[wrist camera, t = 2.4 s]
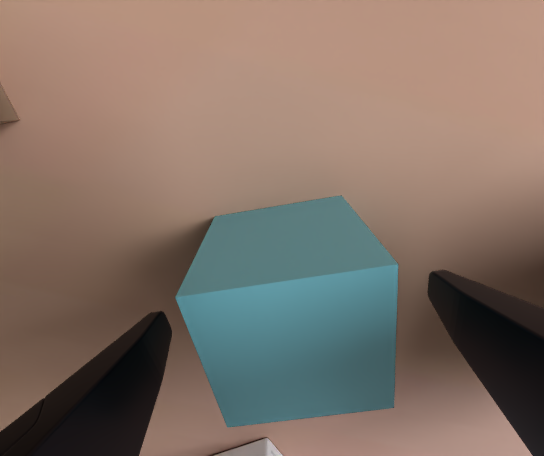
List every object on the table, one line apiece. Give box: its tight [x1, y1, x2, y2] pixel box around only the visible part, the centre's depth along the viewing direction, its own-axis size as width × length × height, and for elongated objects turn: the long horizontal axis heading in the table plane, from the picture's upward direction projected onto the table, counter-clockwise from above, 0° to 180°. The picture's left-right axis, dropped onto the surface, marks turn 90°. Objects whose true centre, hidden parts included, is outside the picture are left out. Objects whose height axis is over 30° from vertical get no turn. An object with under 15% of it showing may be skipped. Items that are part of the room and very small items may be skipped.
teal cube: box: [175, 195, 398, 427], centre depth 9 cm, size 5×5×5 cm
